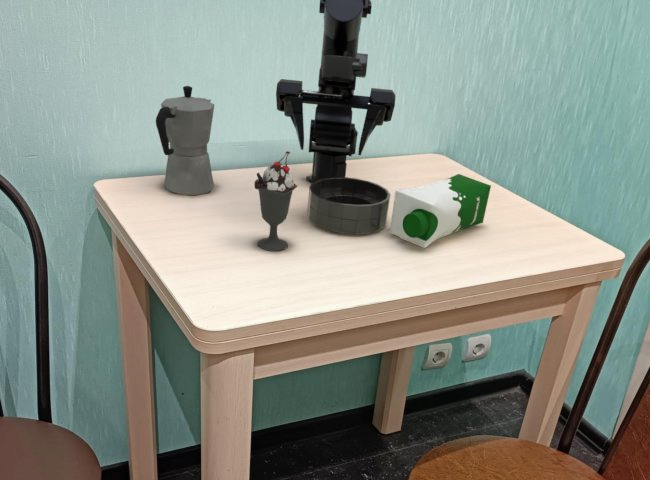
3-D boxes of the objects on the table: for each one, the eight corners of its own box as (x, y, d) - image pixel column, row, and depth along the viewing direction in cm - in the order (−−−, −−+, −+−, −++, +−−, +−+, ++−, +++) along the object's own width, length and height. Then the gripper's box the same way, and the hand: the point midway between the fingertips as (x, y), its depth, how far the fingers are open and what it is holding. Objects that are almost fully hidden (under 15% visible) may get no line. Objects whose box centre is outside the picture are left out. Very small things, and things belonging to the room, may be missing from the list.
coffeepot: (188, 172, 148) (187, 75, 138) (229, 183, 145) (231, 84, 135) (138, 193, 137) (133, 89, 127) (182, 206, 134) (180, 100, 124)
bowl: (291, 214, 135) (293, 184, 132) (350, 201, 143) (353, 172, 140) (342, 242, 127) (345, 211, 123) (402, 227, 135) (407, 197, 132)
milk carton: (486, 229, 138) (418, 255, 125) (446, 213, 142) (377, 237, 130) (496, 181, 133) (427, 204, 120) (455, 166, 138) (384, 187, 125)
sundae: (299, 241, 125) (305, 150, 117) (284, 256, 120) (289, 162, 111) (262, 233, 127) (266, 143, 118) (245, 247, 121) (248, 154, 113)
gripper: (280, 23, 114) (270, 122, 112) (403, 36, 114) (395, 134, 113) (281, 63, 125) (272, 154, 123) (394, 74, 125) (387, 165, 124)
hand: (330, 151), depth 120 cm, fingers open, 9 cm apart
